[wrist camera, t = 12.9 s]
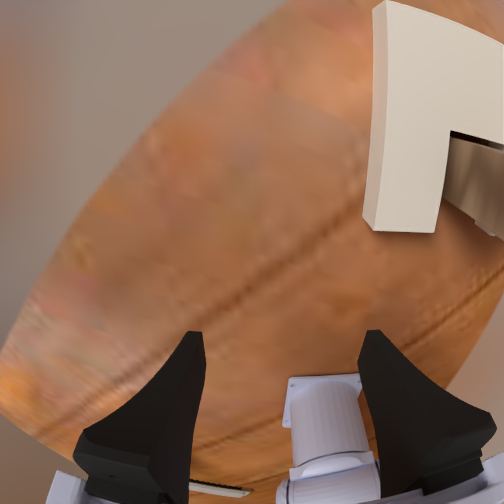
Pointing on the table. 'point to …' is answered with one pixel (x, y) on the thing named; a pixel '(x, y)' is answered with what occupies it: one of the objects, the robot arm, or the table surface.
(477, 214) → the peg
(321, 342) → the table surface
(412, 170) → the socket block
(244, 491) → the harmonica
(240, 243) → the table surface
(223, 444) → the table surface
